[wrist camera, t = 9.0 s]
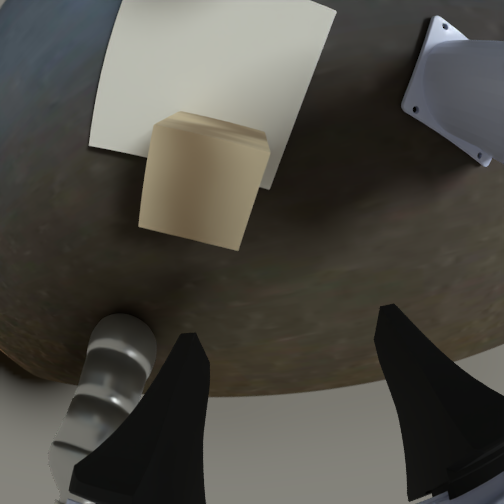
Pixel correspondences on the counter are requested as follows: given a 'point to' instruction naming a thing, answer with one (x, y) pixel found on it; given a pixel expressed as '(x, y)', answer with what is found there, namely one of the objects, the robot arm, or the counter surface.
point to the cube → (202, 178)
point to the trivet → (208, 68)
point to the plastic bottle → (102, 393)
